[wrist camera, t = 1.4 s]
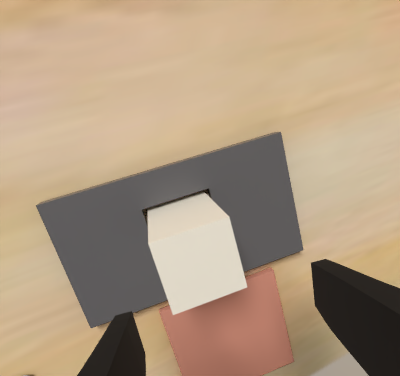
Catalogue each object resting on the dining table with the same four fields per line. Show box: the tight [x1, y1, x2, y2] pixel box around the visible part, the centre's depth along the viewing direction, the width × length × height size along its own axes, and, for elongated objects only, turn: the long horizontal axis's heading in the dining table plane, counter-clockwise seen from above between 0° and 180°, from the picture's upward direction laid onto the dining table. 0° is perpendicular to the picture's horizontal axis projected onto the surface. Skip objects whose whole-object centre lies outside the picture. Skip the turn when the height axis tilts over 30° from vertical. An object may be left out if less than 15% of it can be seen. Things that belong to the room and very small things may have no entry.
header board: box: [36, 132, 303, 328], centre depth 18 cm, size 16×9×1 cm, turn 106°
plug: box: [147, 191, 247, 315], centre depth 16 cm, size 4×4×6 cm
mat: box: [159, 268, 294, 376], centre depth 21 cm, size 9×9×1 cm
